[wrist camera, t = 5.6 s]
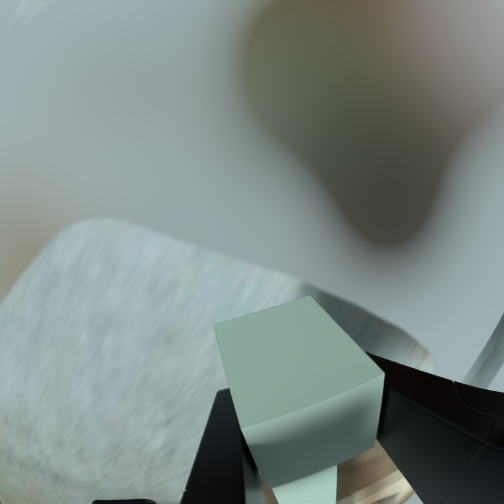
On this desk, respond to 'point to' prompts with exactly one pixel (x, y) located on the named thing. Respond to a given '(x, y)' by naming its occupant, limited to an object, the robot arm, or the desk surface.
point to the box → (353, 473)
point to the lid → (383, 492)
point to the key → (300, 396)
